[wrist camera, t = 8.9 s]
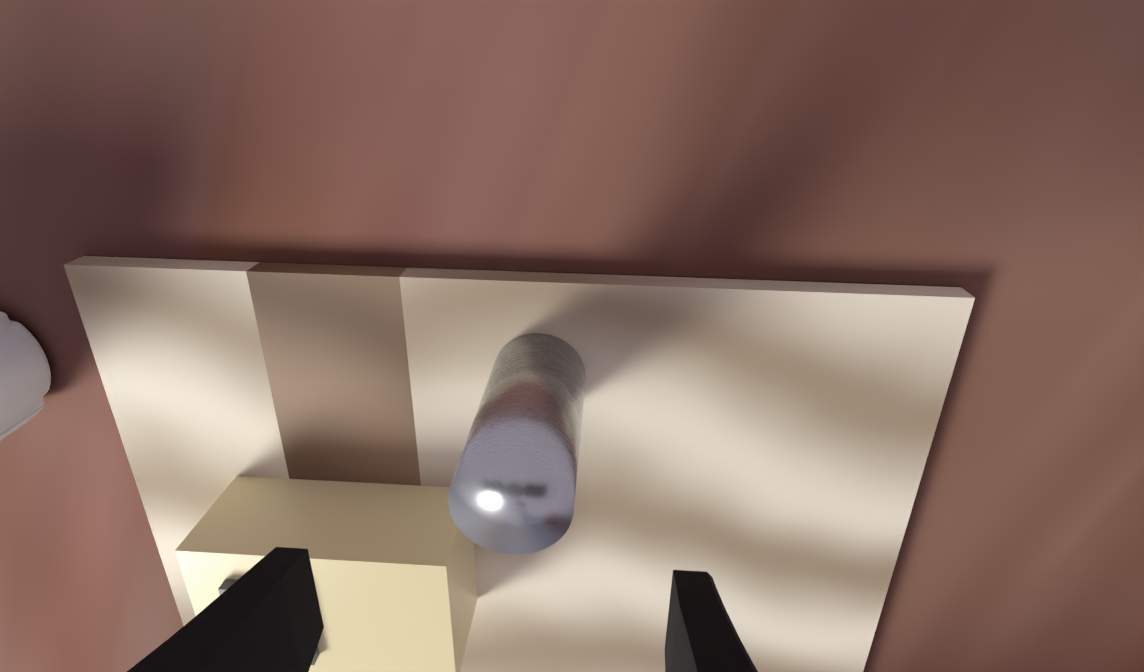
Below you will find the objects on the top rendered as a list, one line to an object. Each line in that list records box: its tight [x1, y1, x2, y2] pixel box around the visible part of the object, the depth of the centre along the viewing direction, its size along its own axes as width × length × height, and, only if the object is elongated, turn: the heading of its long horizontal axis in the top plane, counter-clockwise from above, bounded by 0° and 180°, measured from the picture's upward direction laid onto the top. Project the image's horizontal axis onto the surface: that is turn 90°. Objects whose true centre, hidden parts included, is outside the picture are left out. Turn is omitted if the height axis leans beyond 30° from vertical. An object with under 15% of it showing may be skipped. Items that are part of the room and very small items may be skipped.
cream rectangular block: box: [175, 476, 478, 672], centre depth 22 cm, size 5×8×4 cm, turn 89°
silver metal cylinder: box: [448, 333, 586, 555], centre depth 17 cm, size 3×3×6 cm
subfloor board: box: [64, 256, 975, 672], centre depth 23 cm, size 18×26×1 cm
